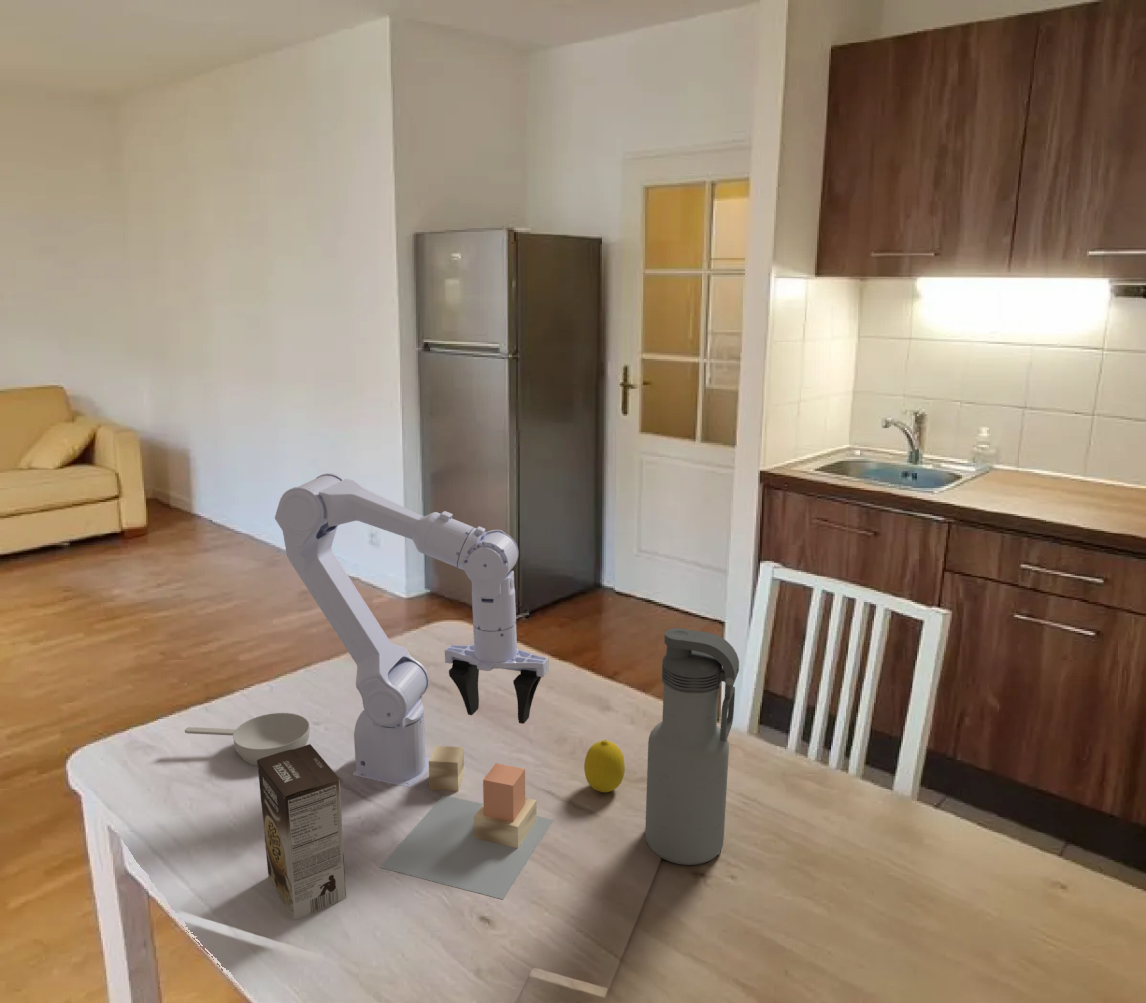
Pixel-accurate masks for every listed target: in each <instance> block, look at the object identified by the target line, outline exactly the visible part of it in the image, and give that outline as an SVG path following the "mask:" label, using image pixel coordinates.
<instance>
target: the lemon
mask: <svg viewBox="0 0 1146 1003" xmlns="http://www.w3.org/2000/svg"><path fill="white" fill-rule="evenodd" d="M584 759H585V760H584V765H583V770H584V775H585V779H586V782H587V783H588V785H589V786H590V787H591V788H592V789H593V790H595V791H597V792H599V793H609V792H612V791H614V790H616V789H617V788H618V787H619V786H620V785H621V784H622V781H623V780H624V776H625V772H626V767H625V765H626V764H625V759H624V754H623V752H622V750H621V749H620V747H619V746H618V745H617V744H616V743H614V742H612V741H609V740H607V739H603V740H599V741H596V742H595V743H593V744H592V745H591V746H590V748H589V749H588V751H587V752H586V756H585V758H584Z"/></svg>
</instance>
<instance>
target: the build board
mask: <svg viewBox="0 0 1146 1003" xmlns="http://www.w3.org/2000/svg"><path fill="white" fill-rule="evenodd" d="M483 804H484V803H483V802H482V803H481V802H477V801H472V800H468V799H463V798H459V797H456V796H450V795H446V794H445V795H444V794H443V795H441V797H440V798H439V799H438V801H437V802H436V803H435V804H434V805H433V806H432V808H430V809H429V811H428V812H427V813H426V814H425V816H423V818H422V819H420V821H419V822H418V823H417V824H416V826H414V828H413V829H412V831H410V832H409V833H408V835H407V836H406V837H405V838H404V839H403V840H402V841H401V843H400V844H399V845H398V846H397V847H396V848H395V849H394V851H393V852H392V853H391V854H390V855H389V856H388V857H387V859H386V860H385V861H384V862H383V863H382V865H381V866H380V867H379V868H381V869H384V870H388V871H392V872H396V873H399V874H403V875H407V876H410V877H414V878H419V879H422V880H426V881H430V882H434V883H437V884H441V885H445V886H450V887H451V888H457V889H460V890H464V891H468V892H472V893H475V894H480V895H484V896H486V897H491V898H495V899H499V900H504V899H505V897H506V895H507V894H508V893H509V891H510V890H511V888H512V886H513V885H514V884H515V881H516V880H517V878H518V877H519V875H520V874H521V872H522V870H524V867H525V866H526V865H527V862H528V861H529V860H530V858H531V856H532V855H533V854H534V852H535V850H536V848H537V847H538V846H539V844H540V842H541V841H542V839H543V838H544V836H545V834H546V833H547V831H548V829H549V828H550V826H551V825H552V824H553V822H554V819H553V818H548V817H543V816H539V815H536V822H535V824H534V825H533V827H532V828H531V830H530V831H529V833H528V834H527V836H526V837H525V839H524V840H523V842H522V843H521V845H520V846H519V848H515V847H511V846H507V845H502V844H498V843H494V842H490V841H486V840H481V839H477V838H474V816H475V814H476V813H477V812H478V811H479V809H480V808H481V807H482V805H483Z"/></svg>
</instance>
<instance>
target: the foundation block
mask: <svg viewBox="0 0 1146 1003" xmlns="http://www.w3.org/2000/svg"><path fill="white" fill-rule="evenodd" d="M482 804H483V805H482V807H481V808H480V809H479V811H478V812H477V813H476V814H475V816H474V838H477V839H481V840H486V841H490V842H494V843H498V844H502V845H507V846H511V847H515V848H519V846H520V845H521V843H522V842H523V840H524V839H525V837H526V836H527V834H528V833H529V831H530V830H531V828H532V827H533V825H534V824H535V822H536V816H537V800H536V799H533V798H528V797H527V798H526V797H525V805H524V806H523V808H522V810H521V811H520V813H519V814H518V816H517V817H516V819H515V820H514V822H513V821H508V820H503V819H498V818H494V817H489V816H484V803H482Z"/></svg>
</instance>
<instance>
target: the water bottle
mask: <svg viewBox="0 0 1146 1003" xmlns="http://www.w3.org/2000/svg"><path fill="white" fill-rule="evenodd" d="M663 640H664V642H663V643H664V645H666V652H665V655H663V657H662V661H661V662H662V663H661V664H662V666H661V667H662V668H661V670H662V671H661V683H662V686H663V691H662V692H663V694H662V696H663V698H662V720H661V722H659V723H657V724H656V725H655V726H654V727H653V729H652V730H651V732H650V734H649V735H648V740H647V741H648V742H647V768H646V769H647V770H646V771H647V772H646V798H645V827H644V829H645V831H644V832H645V833H644V834H645V841H646V843H647V845H648V847H649V848H650V849H651V850H652V851H653V853H655V854H656V855H657V856H659V857H661V859H663V860H665V861H667V862H670V863H673V864H677V865H684V866H692V865H701V864H705V863H706V862H710V861H712V860H713V859H714V858H716V857H717V856H718V855H719V854H720V852H722V849H723V846H724V840H725V825H726V824H725V823H726V806H727V788H728V787H727V786H728V771H729V756H730V754H729V753H730V746H729V740H728V738H729V734H730V731H731V729H732V726H733V721H734V713H735V712H734V711H735V696H736V687H735V686H734V685H735V682H736V679H737V677H738V674H739V672H740V659H739V657H738V653H737V652H736V650H735V649H734V646H732V645H731V644H730V643H729V642H728V640H726V639H725V638H723V637H722V636H719V635H717V634H715V633H711V632H707V631H700V630H694V629H693V630H692V629H687V628H682V627H681V628H680V627H679V628H677V627H676V628H670V629H667V630H665V632H664V639H663ZM722 682H724V698H723V701H722V706H721V713H720V727H719V726H718V725H717V724H718V707H719V706H718V705H719V690H720V689H721V686H722Z"/></svg>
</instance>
